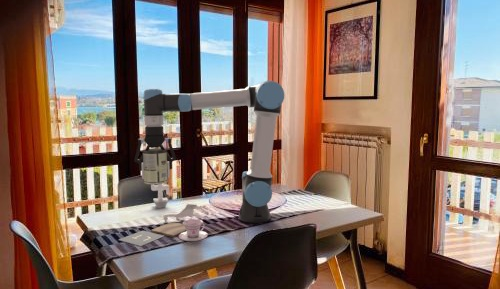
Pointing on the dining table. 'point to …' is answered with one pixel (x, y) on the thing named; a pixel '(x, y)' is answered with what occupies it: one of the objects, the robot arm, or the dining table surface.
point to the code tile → (141, 238)
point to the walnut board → (170, 229)
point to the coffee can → (155, 166)
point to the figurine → (160, 194)
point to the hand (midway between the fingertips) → (156, 177)
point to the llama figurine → (186, 212)
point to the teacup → (193, 230)
